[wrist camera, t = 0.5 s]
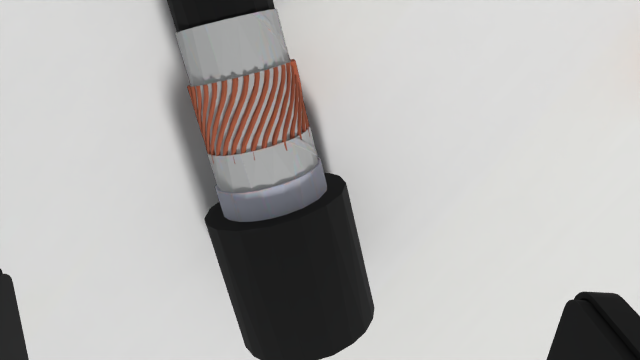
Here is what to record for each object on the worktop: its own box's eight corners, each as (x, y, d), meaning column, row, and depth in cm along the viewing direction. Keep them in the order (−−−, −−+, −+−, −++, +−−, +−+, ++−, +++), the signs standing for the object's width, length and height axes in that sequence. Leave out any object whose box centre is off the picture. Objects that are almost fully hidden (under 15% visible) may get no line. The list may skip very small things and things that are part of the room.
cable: (226, -161, 34) (283, -244, 25) (333, 271, 44) (401, 318, 35) (71, -148, 30) (75, -241, 22) (227, 321, 40) (274, 387, 32)
